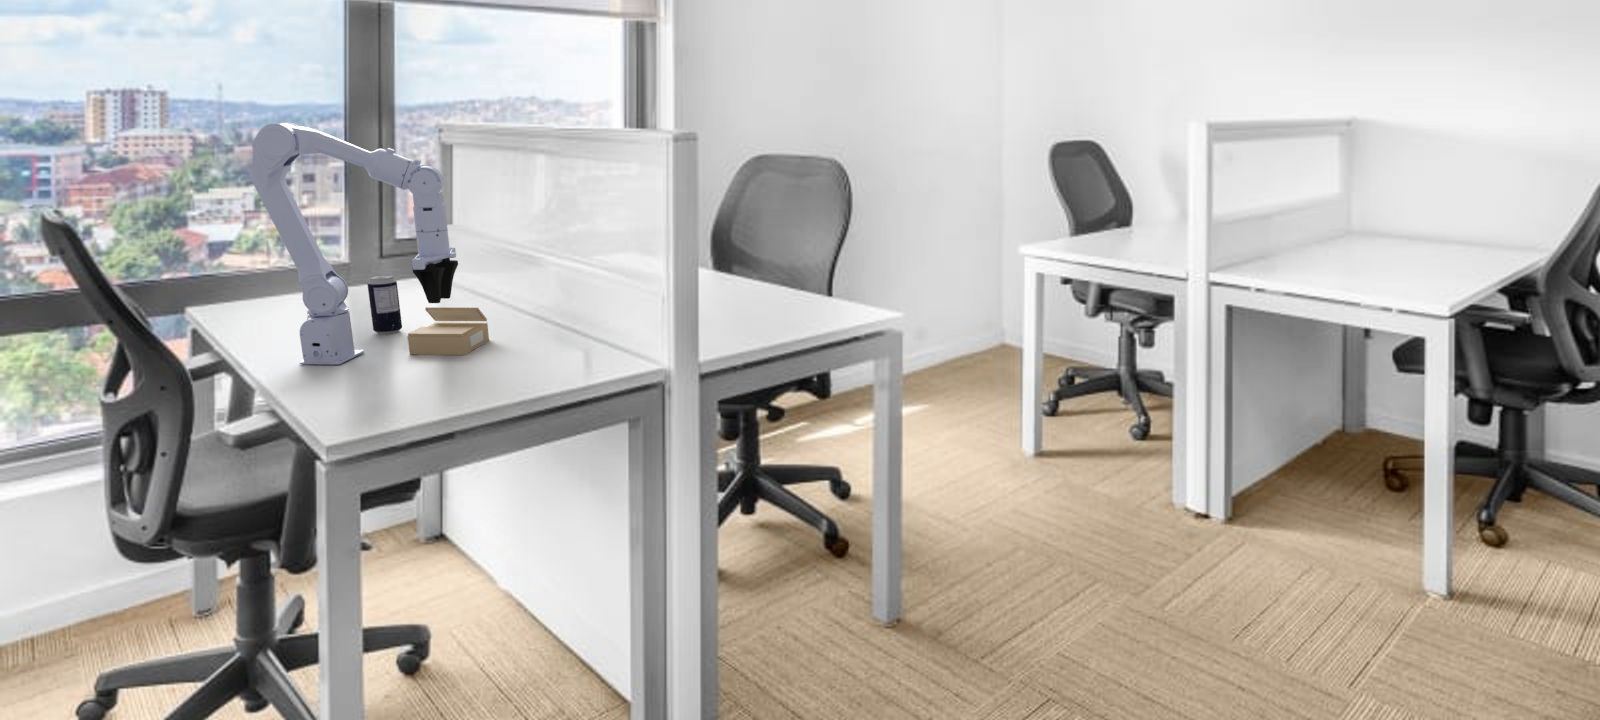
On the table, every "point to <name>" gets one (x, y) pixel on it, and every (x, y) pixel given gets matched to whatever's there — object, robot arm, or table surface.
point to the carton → (447, 338)
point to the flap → (456, 314)
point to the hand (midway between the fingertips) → (439, 300)
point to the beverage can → (384, 304)
